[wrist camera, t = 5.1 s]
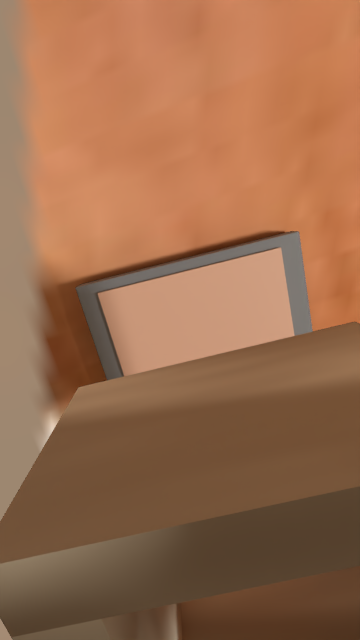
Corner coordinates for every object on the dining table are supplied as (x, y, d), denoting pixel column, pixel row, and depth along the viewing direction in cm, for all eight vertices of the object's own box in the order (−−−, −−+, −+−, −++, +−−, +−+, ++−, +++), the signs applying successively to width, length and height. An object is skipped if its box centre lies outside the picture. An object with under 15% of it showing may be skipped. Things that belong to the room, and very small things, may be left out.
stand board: (334, 530, 22) (390, 635, 16) (175, 564, 22) (176, 677, 17) (291, 231, 16) (354, 233, 11) (81, 284, 17) (35, 313, 11)
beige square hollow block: (375, 537, 10) (538, 785, 5) (151, 583, 10) (136, 853, 6) (354, 321, 8) (582, 438, 3) (78, 387, 8) (-28, 569, 4)
